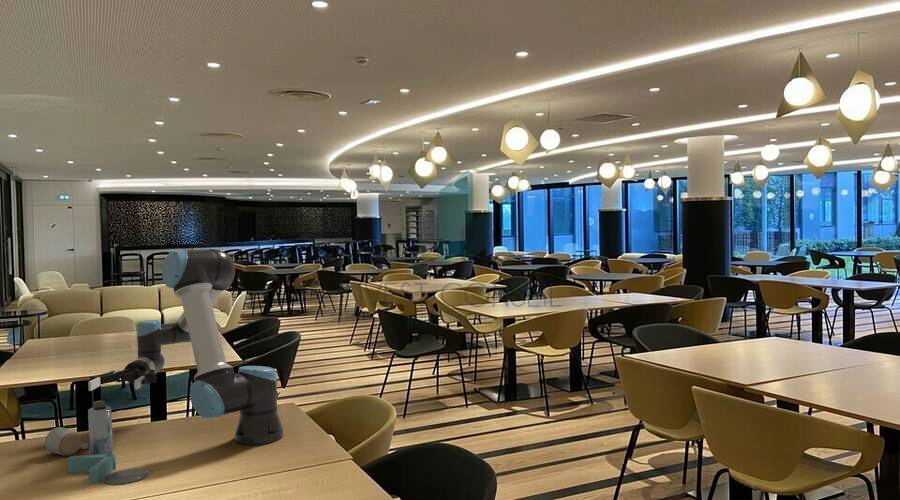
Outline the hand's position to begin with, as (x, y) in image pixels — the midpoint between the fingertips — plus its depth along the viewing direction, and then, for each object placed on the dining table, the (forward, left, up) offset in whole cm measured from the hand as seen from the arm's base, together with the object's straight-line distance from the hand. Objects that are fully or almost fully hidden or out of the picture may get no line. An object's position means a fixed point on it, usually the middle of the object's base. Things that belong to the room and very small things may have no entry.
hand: (112, 385), depth 201 cm
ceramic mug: (+15, -2, -21) cm, 25 cm away
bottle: (0, +10, -20) cm, 23 cm away
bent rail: (0, +21, -20) cm, 29 cm away
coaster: (-12, +23, -20) cm, 33 cm away
